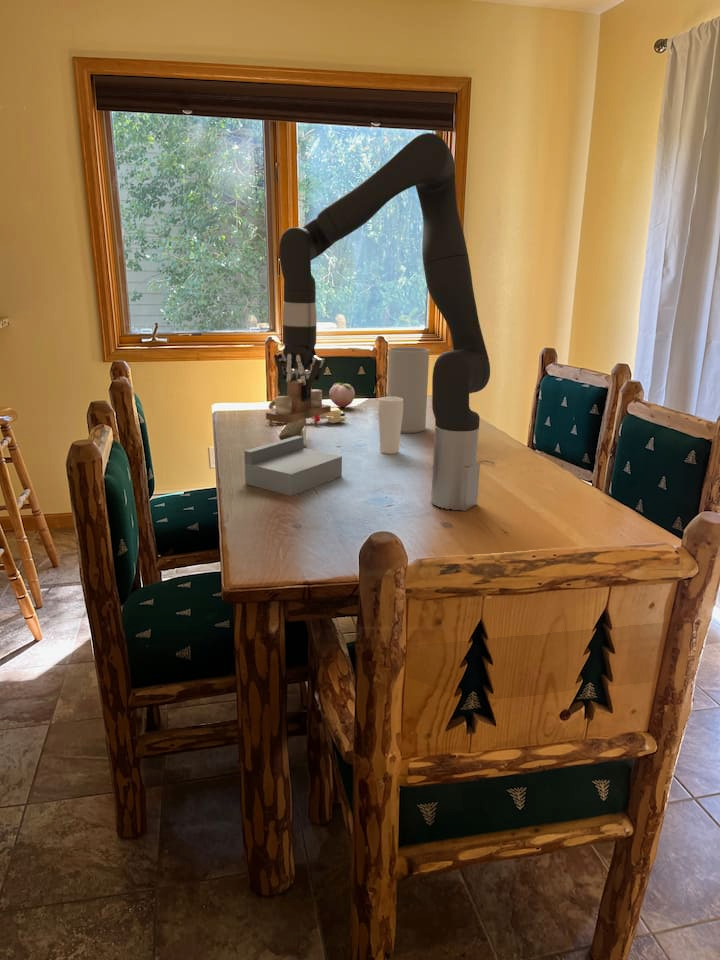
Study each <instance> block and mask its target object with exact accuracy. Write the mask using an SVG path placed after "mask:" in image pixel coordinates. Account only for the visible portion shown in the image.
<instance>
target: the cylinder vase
mask: <svg viewBox="0 0 720 960" xmlns="http://www.w3.org/2000/svg"><path fill="white" fill-rule="evenodd" d="M387 352H388V353H387V354H388V356H387V387H386V397H400V398H403V418H402V426H401V434H416V433H415V432H417V433H420V432H424V431H425V430H426V424H427V422H426V421H427V405H428V404H427V403H428V402H427V401H428V386H429V385H428V384H429V383H428V381H429V368H430V367H429V364H430V363H429V361H430V349H428V348H424V347H415V346H414V347H412V346H408V347H407V346H399V347H398V346H397V347H395V346H394V347H390V348H388V351H387Z"/></svg>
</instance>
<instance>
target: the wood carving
mask: <svg viewBox="0 0 720 960" xmlns="http://www.w3.org/2000/svg"><path fill="white" fill-rule="evenodd" d="M306 425H307V419H306V418H305V419H302V420H298V421H294V422H290V423H286V424H285V425H283V427H282V428H281V431H280V433H279V436H278V438H279V441H280V440H284V439H287V438H291V437H294V436H302V437H303V448H304V449H307V447H308V446H307V426H306Z"/></svg>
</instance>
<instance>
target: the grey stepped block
mask: <svg viewBox="0 0 720 960" xmlns="http://www.w3.org/2000/svg"><path fill="white" fill-rule="evenodd" d="M342 472H343V456H341V455H338V454H333V453H326V452H322V451H318V450H313V449H309V448H308V449H307V448H305V449H304V448H303V437H302V436H294V437H291V438H287V439H284V440H280V439H279V440H277V441H274V442H271V443H267V444H263V445H261V446H257V447H254V448H253V447H252V448H249V449H246V450H244V478H245V479H244V480H245V485H249V486H253V487H256V488H259V489H264V490H267V491H270V492H275V493H279V494H284V495H287V496H291V497H292V496H295V495H298V494H300V493H302V492H305V491H308V490H309V489H313V488H315V487H318V486H319V485H323V484H325V483H329V482H330V481H333V480H335V478H336V479H338V478H340V477H339V476H341V477H342V476H343V475H342V474H343V473H342ZM337 477H338V478H337ZM332 479H333V480H332Z"/></svg>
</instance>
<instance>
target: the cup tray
mask: <svg viewBox="0 0 720 960" xmlns="http://www.w3.org/2000/svg"><path fill="white" fill-rule="evenodd" d="M286 384H287V385H286V394H287V395H278V396H275V397H274V399H275V407H274V408H275V411H272V410H271V411H268V412H265V420H268V421H269V420H272V422H273V421H277V422H282V423H283V424H288V423H290V422H294V421H298V420H302V419H305V418H307V419H310V418H309V417H313V416H317V415H321V414H324V413H328V412H331V408H332V407H331V405H328V404H323V390H321V389H312V388H311V398H310V399H309V401H306V402H303V401H302V400H301V386H302V382H301V378H299V379H298V378H297V380H293V381H288V382H287V381H286ZM277 422H276V423H277ZM282 423H281V424H282Z"/></svg>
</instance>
